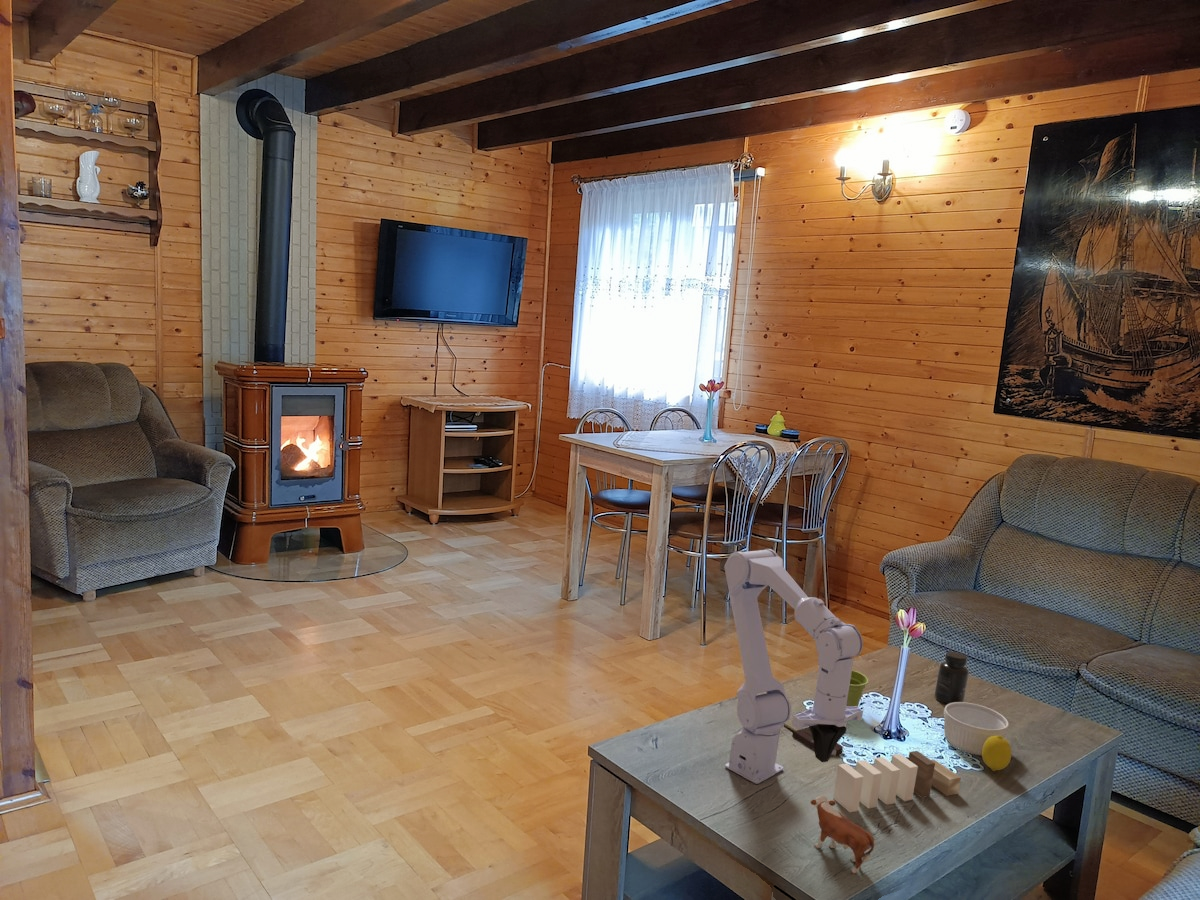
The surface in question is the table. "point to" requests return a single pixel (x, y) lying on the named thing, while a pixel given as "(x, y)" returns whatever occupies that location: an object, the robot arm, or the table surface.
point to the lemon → (996, 752)
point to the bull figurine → (842, 832)
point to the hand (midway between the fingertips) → (821, 759)
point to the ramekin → (972, 725)
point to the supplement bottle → (952, 678)
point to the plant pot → (856, 688)
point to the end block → (945, 779)
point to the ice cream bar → (809, 738)
